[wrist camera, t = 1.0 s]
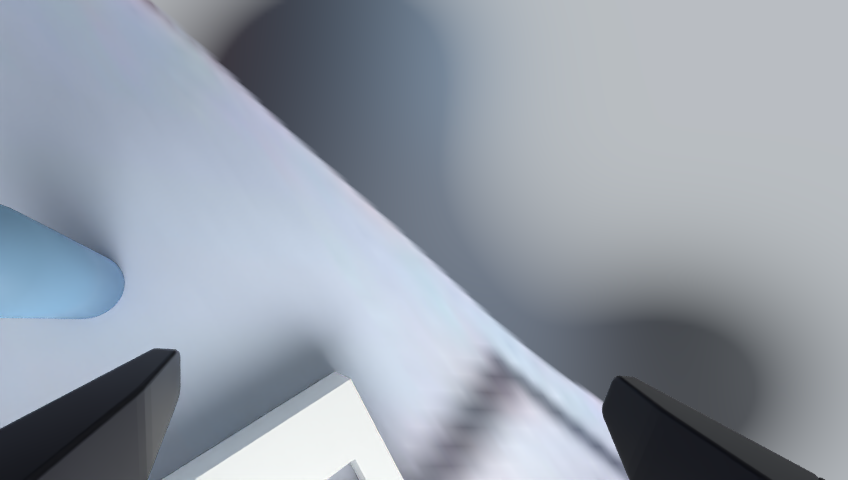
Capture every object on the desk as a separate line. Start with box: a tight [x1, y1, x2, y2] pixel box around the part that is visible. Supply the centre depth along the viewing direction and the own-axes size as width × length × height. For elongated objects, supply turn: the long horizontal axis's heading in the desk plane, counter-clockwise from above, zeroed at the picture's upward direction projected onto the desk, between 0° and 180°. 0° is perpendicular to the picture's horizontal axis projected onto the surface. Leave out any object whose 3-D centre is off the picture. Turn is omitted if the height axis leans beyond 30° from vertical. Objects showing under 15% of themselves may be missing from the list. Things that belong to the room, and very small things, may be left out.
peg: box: [0, 204, 125, 319], centre depth 16 cm, size 3×3×10 cm
